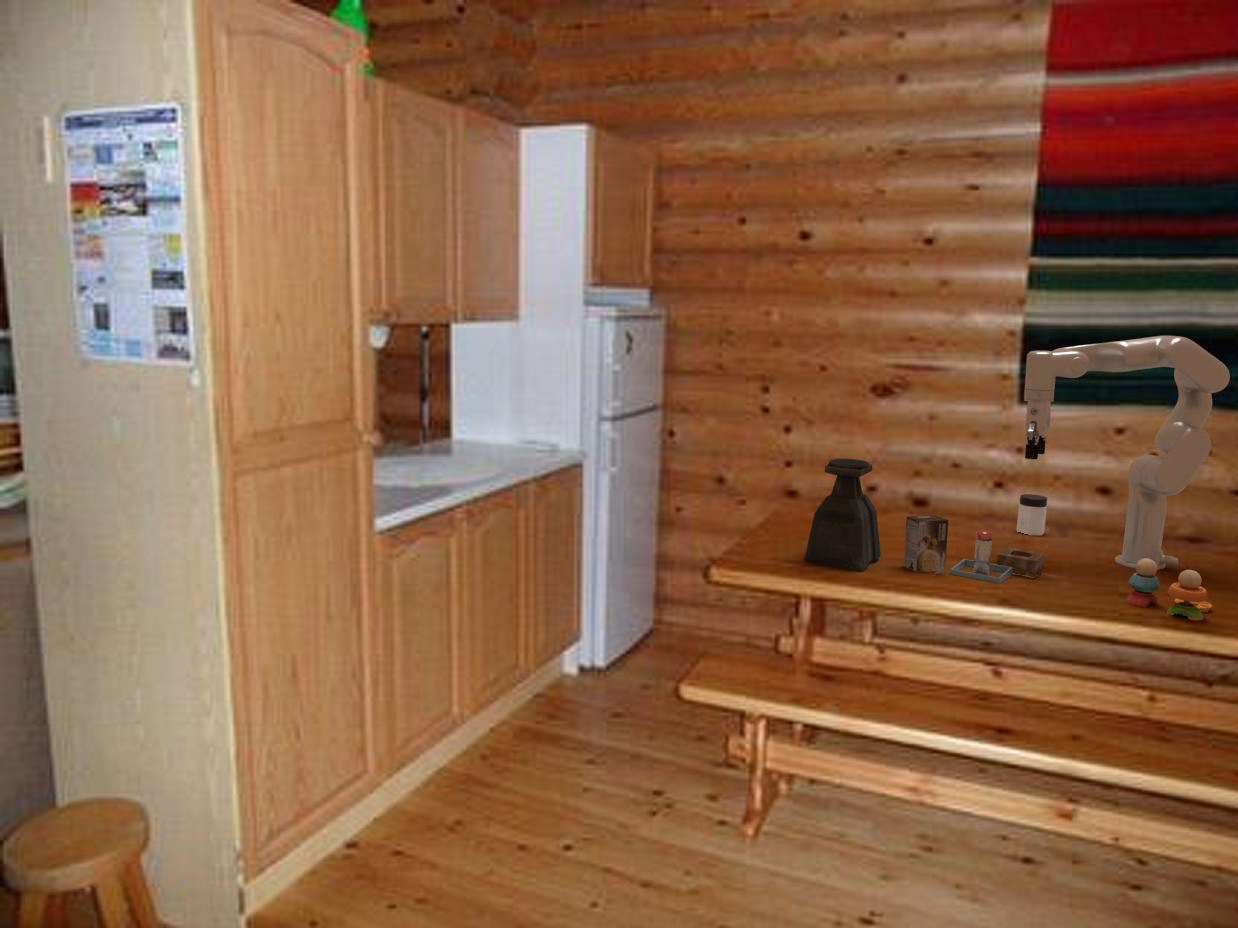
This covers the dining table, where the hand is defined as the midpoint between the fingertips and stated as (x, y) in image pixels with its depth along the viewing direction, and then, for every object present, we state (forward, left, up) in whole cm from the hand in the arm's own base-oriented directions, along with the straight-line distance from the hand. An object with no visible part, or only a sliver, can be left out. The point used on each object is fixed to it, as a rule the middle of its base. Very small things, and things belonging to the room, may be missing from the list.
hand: (1034, 456), depth 265 cm
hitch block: (-1, +10, -31) cm, 33 cm away
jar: (+7, -39, -31) cm, 51 cm away
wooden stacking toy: (-38, +22, -31) cm, 54 cm away
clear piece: (+6, +23, -30) cm, 38 cm away
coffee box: (+19, +31, -31) cm, 48 cm away
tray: (+6, +23, -31) cm, 39 cm away
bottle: (+39, +39, -31) cm, 63 cm away
